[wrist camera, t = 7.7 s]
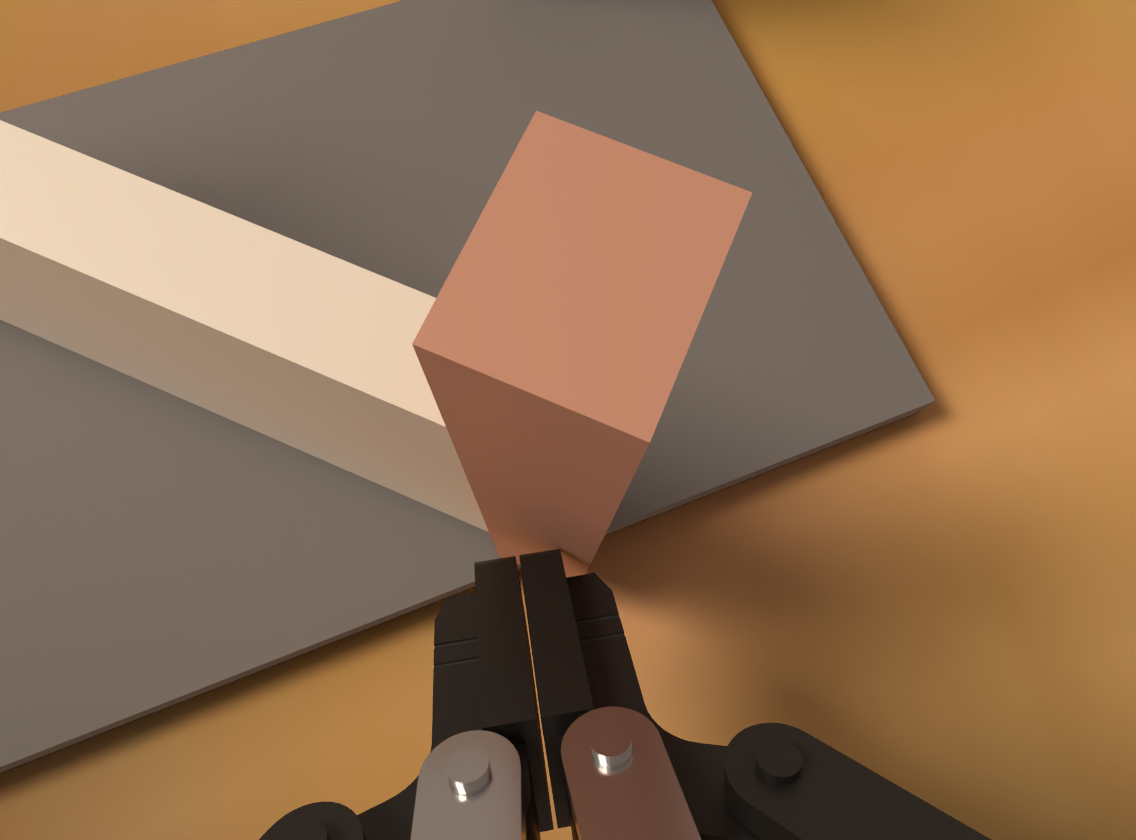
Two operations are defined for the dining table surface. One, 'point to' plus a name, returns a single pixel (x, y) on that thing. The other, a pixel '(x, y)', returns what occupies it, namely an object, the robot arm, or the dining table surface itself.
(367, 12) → the mat
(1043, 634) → the dining table surface
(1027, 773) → the dining table surface
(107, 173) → the gate
